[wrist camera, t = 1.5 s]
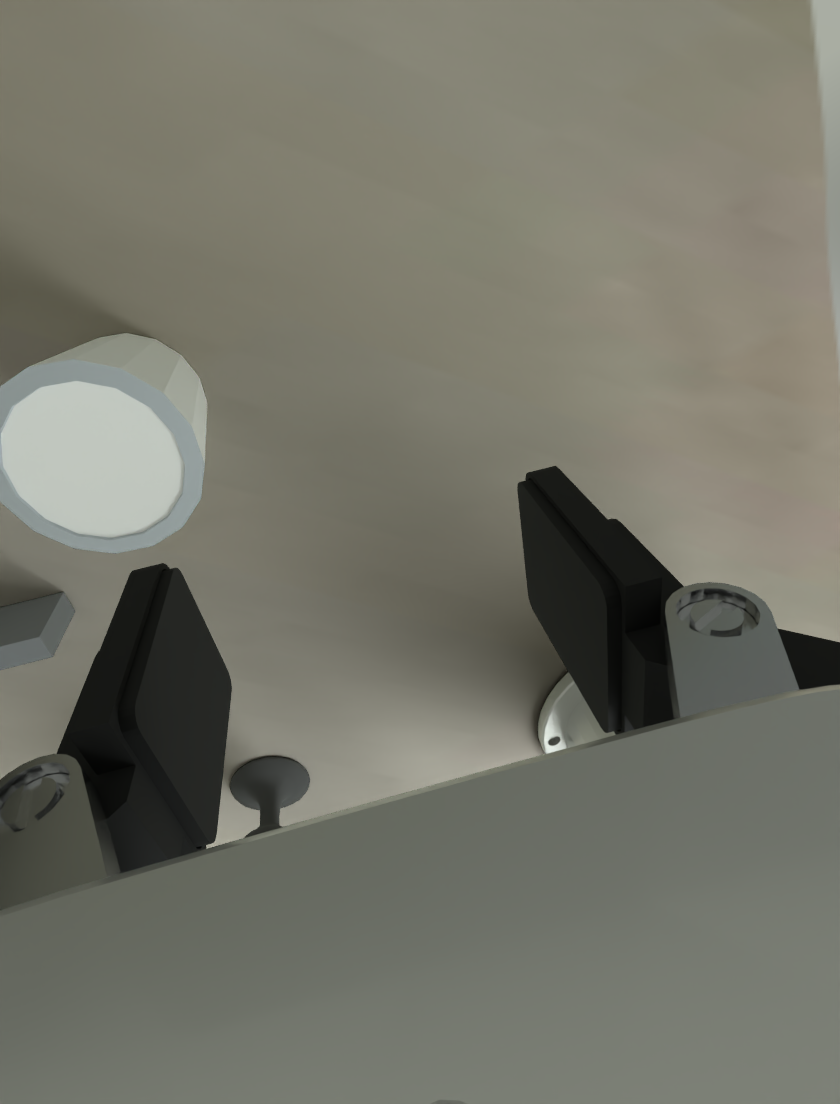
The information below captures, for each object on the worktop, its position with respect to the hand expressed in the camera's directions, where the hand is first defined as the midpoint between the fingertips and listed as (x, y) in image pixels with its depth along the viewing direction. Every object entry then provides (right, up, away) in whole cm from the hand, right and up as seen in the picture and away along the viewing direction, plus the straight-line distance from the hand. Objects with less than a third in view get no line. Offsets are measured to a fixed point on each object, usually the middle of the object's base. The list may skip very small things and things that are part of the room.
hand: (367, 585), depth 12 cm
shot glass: (-11, +7, +15) cm, 20 cm away
